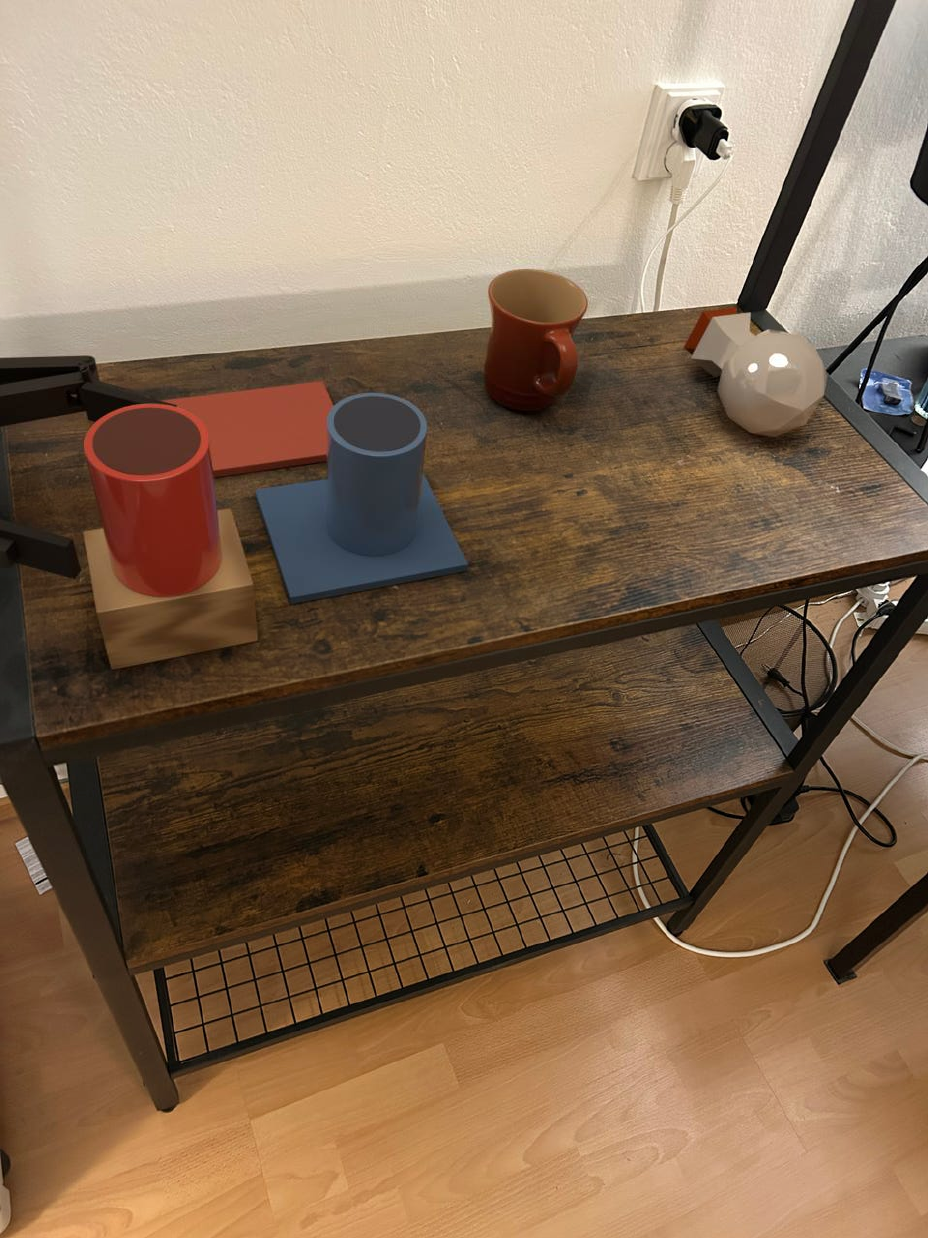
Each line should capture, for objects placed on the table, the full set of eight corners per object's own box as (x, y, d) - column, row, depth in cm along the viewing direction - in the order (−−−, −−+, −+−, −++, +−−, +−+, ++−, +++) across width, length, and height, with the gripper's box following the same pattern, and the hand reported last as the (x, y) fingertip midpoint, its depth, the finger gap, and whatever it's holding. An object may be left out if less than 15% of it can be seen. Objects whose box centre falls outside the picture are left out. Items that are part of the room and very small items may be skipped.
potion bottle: (770, 474, 90) (686, 394, 100) (860, 409, 89) (765, 334, 99) (743, 411, 83) (656, 332, 93) (839, 339, 82) (740, 267, 92)
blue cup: (339, 563, 74) (342, 462, 66) (316, 500, 78) (315, 398, 70) (429, 547, 76) (441, 447, 68) (401, 487, 80) (409, 386, 73)
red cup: (118, 606, 62) (90, 488, 54) (104, 529, 66) (76, 410, 59) (231, 585, 64) (219, 469, 57) (211, 512, 68) (197, 395, 61)
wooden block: (111, 670, 66) (96, 612, 61) (98, 590, 70) (83, 531, 66) (258, 641, 69) (253, 584, 64) (236, 565, 73) (230, 507, 69)
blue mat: (290, 604, 72) (290, 597, 71) (255, 496, 79) (254, 489, 78) (467, 571, 76) (468, 563, 75) (418, 471, 83) (419, 464, 82)
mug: (460, 371, 93) (473, 273, 85) (542, 360, 96) (562, 264, 88) (509, 450, 86) (528, 351, 78) (596, 435, 89) (622, 338, 81)
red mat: (109, 493, 77) (107, 485, 76) (94, 416, 83) (92, 408, 82) (352, 457, 83) (352, 450, 82) (322, 387, 89) (322, 380, 88)
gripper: (-46, 352, 74) (215, 419, 72) (-293, 576, 58) (36, 670, 56) (-76, 261, 68) (206, 332, 67) (-360, 481, 52) (4, 582, 50)
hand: (129, 487), depth 61 cm, fingers open, 13 cm apart
